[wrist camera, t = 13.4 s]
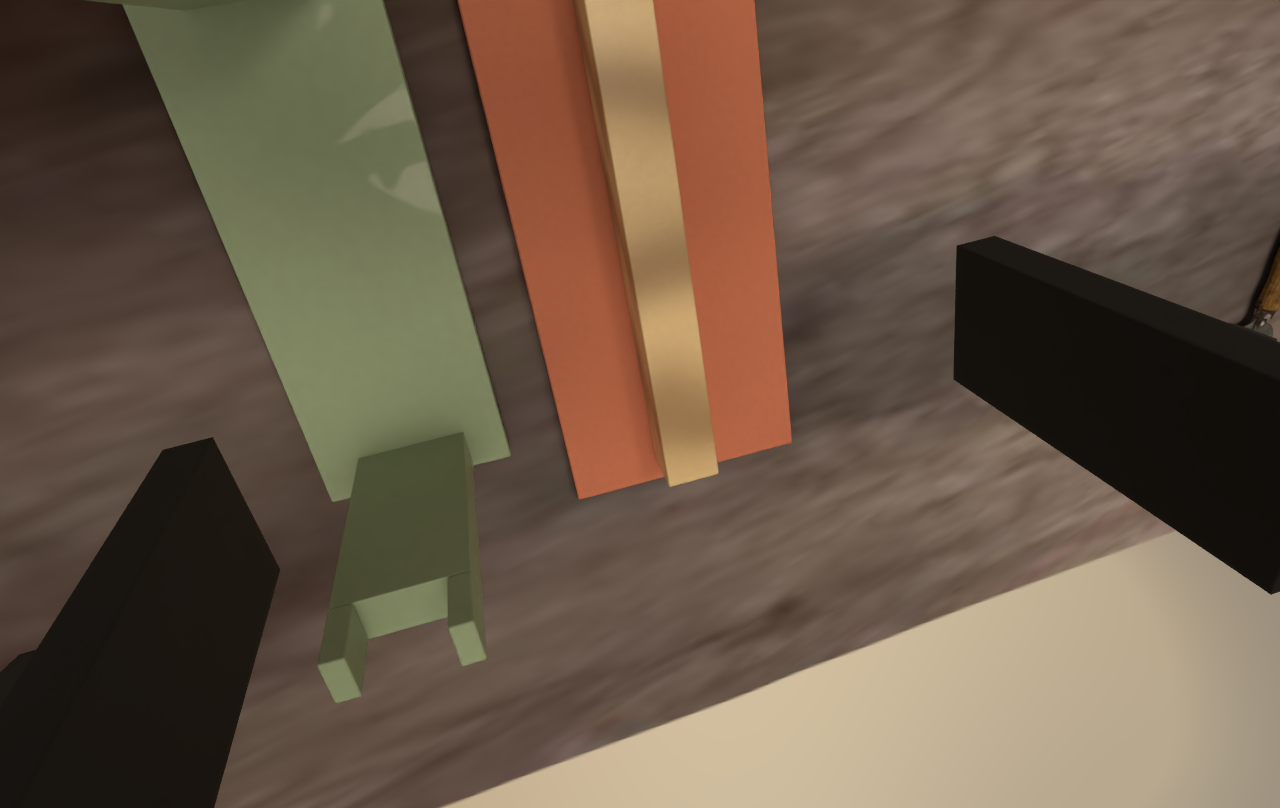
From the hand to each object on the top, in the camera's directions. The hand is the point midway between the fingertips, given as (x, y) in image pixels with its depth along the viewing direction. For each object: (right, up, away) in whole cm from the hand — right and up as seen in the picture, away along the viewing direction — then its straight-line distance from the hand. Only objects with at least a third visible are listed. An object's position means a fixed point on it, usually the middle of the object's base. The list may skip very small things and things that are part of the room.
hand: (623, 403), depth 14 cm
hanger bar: (0, +7, +19) cm, 20 cm away
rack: (-11, +6, +17) cm, 21 cm away
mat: (+1, +7, +19) cm, 21 cm away
